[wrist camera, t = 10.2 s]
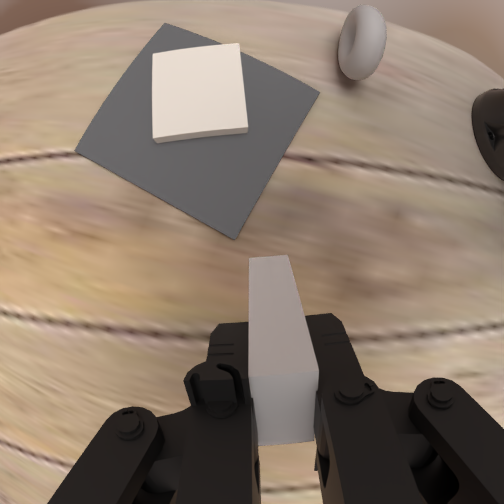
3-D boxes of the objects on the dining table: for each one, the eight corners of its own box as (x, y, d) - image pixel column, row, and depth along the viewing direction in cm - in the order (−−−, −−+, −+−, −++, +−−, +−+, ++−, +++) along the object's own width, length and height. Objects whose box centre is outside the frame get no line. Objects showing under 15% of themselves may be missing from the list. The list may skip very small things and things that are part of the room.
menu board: (248, 127, 32) (239, 43, 31) (152, 138, 31) (152, 53, 31) (247, 133, 34) (238, 52, 33) (157, 143, 33) (156, 61, 33)
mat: (318, 94, 35) (320, 92, 34) (234, 240, 35) (234, 240, 34) (165, 25, 33) (164, 22, 32) (76, 151, 33) (74, 150, 33)
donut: (360, 96, 35) (394, 59, 25) (333, 90, 35) (362, 49, 25) (359, 36, 34) (387, -5, 25) (335, 30, 34) (358, -15, 24)
